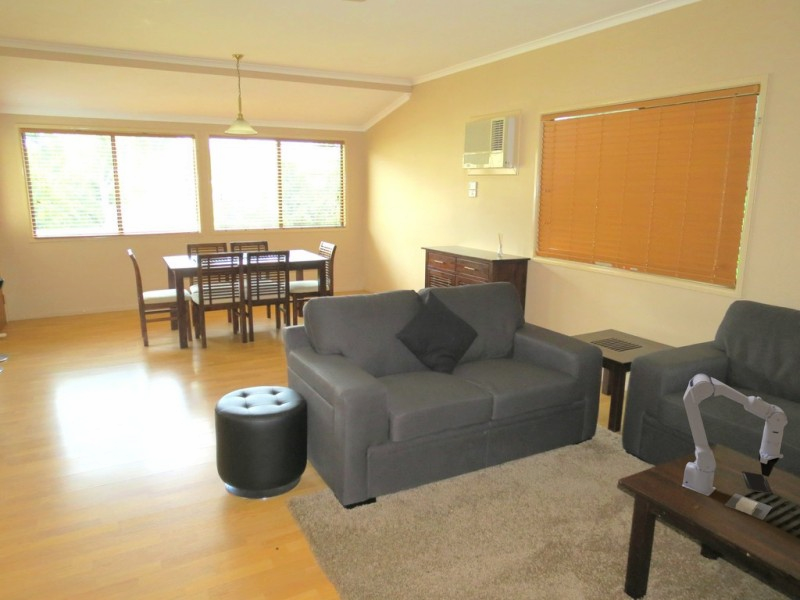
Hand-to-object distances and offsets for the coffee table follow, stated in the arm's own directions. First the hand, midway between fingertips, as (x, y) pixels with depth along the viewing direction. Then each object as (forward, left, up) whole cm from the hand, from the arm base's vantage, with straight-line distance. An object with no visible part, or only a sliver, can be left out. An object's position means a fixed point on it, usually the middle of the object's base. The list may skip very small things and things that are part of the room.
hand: (765, 475), depth 202 cm
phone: (-5, +13, -11) cm, 18 cm away
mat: (-2, -8, -10) cm, 13 cm away
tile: (-2, -7, -9) cm, 11 cm away
